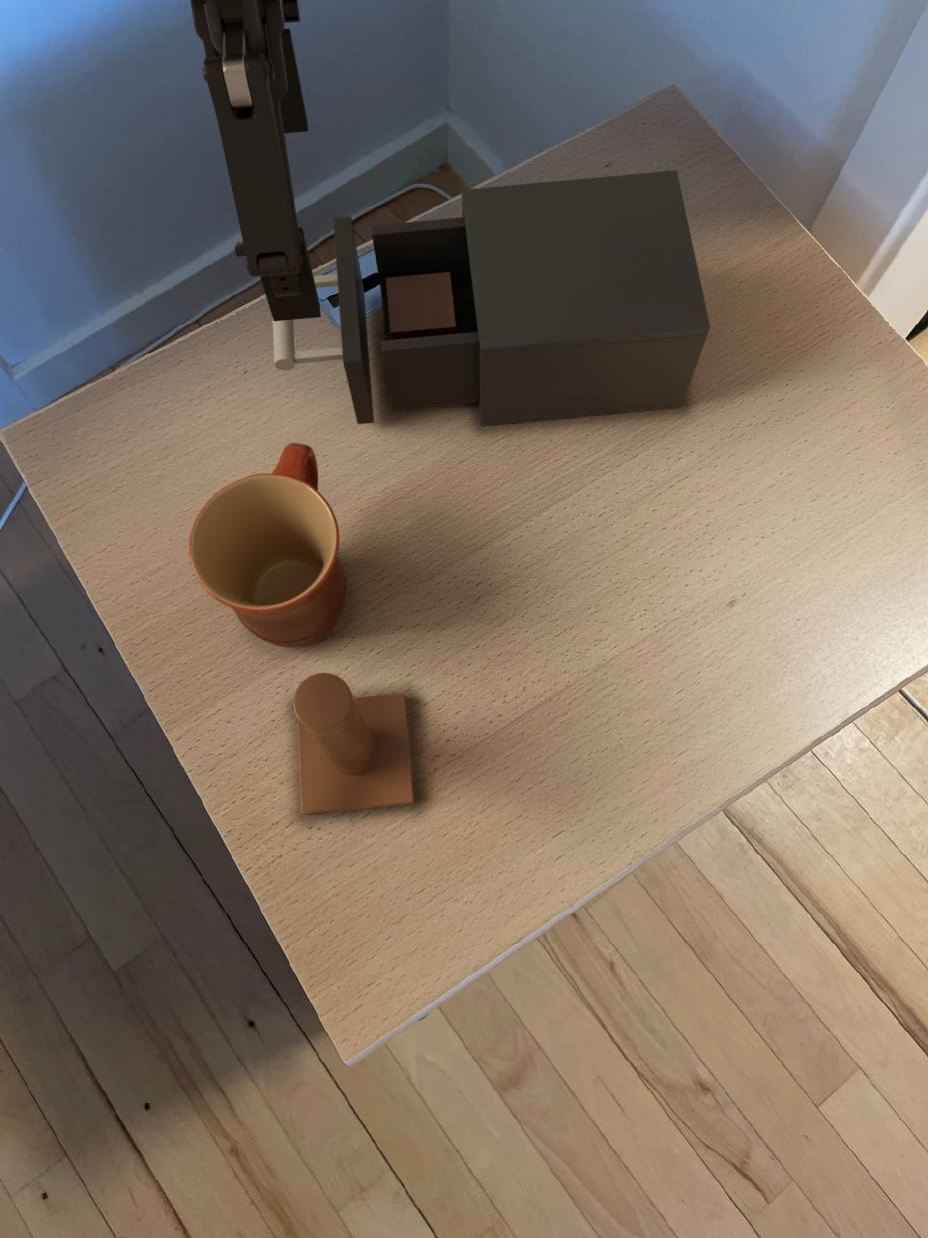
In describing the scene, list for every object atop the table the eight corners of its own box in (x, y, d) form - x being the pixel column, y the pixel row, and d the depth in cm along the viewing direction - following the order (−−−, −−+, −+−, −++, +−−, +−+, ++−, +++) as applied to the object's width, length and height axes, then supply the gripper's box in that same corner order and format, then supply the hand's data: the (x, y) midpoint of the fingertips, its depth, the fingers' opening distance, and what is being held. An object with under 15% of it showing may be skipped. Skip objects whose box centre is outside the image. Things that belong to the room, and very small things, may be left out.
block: (395, 370, 70) (389, 332, 66) (390, 317, 72) (385, 277, 68) (458, 364, 70) (456, 326, 66) (452, 311, 72) (450, 271, 68)
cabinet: (481, 426, 71) (480, 348, 62) (464, 282, 75) (461, 189, 66) (681, 407, 71) (710, 327, 62) (653, 264, 75) (677, 169, 66)
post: (303, 814, 62) (255, 775, 49) (299, 707, 64) (251, 642, 51) (414, 803, 62) (395, 761, 49) (405, 696, 65) (385, 629, 51)
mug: (342, 674, 65) (317, 624, 55) (215, 649, 66) (169, 596, 56) (383, 512, 69) (367, 439, 59) (263, 490, 70) (228, 414, 60)
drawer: (289, 431, 70) (266, 369, 63) (283, 297, 74) (261, 224, 66) (545, 406, 70) (552, 342, 63) (526, 275, 74) (531, 199, 67)
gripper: (313, 68, 35) (369, 393, 55) (282, -371, 43) (340, 53, 63) (99, 85, 34) (234, 405, 54) (107, -360, 42) (222, 63, 62)
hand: (291, 218), depth 59 cm, fingers open, 13 cm apart
